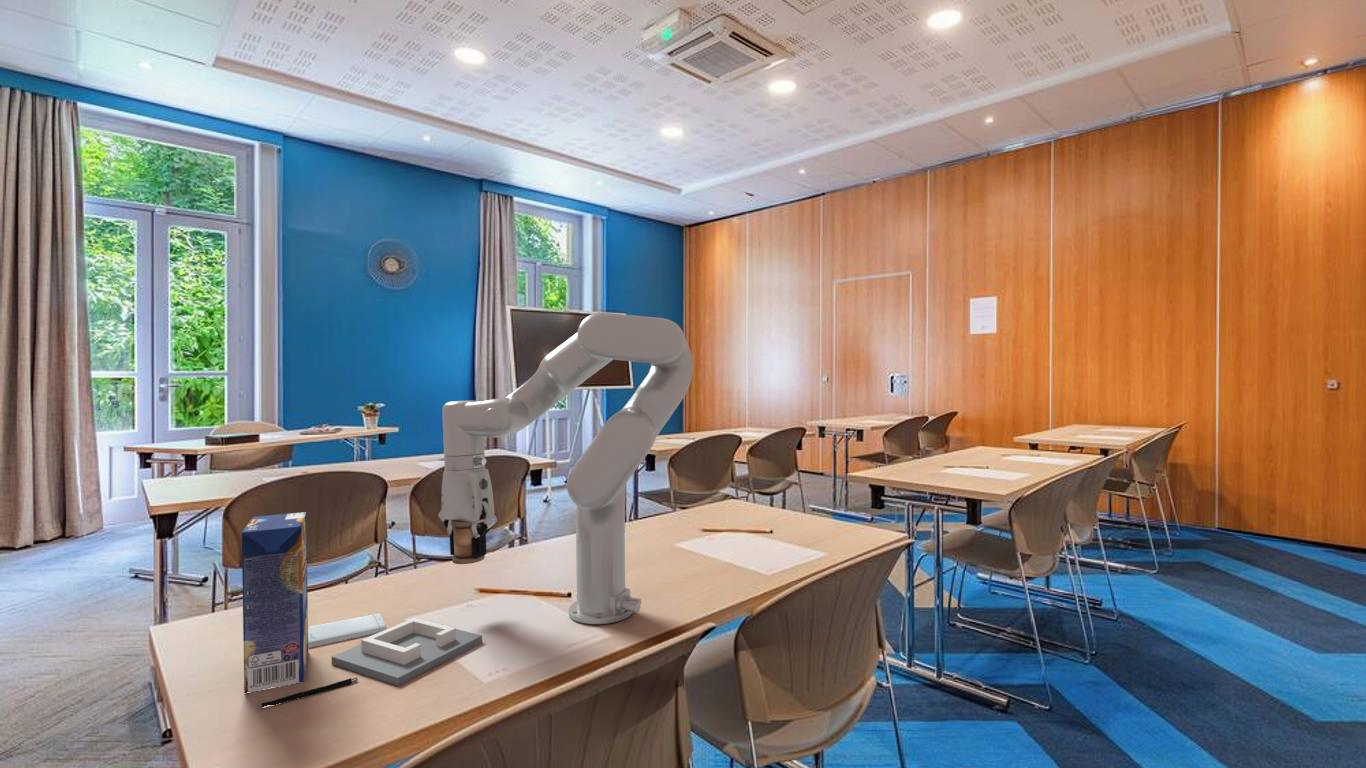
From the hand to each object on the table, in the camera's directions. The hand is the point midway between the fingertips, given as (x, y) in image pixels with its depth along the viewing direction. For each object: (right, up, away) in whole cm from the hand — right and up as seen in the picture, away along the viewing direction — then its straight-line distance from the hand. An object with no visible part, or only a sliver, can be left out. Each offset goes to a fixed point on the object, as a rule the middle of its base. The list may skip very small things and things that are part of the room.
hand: (468, 553), depth 121 cm
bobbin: (0, -1, 0) cm, 1 cm away
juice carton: (-22, -12, -24) cm, 35 cm away
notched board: (-4, -12, -17) cm, 21 cm away
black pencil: (-12, -13, -31) cm, 35 cm away
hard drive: (-20, -13, -8) cm, 25 cm away
